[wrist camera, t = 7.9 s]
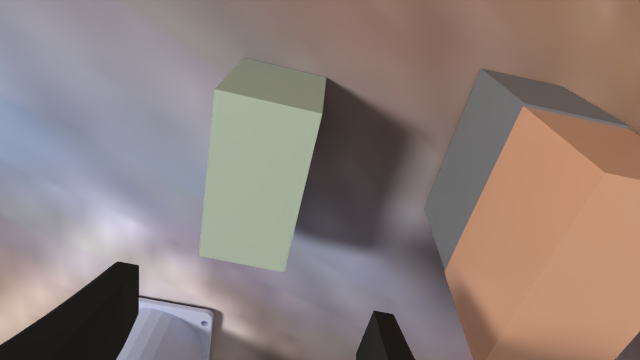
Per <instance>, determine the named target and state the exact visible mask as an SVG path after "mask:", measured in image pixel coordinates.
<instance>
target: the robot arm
mask: <svg viewBox="0 0 640 360" xmlns="http://www.w3.org/2000/svg"><path fill="white" fill-rule="evenodd" d="M213 320H214V314H213V313H212V312H211V311H210V310H207V309H201V308H196V307H190V306H185V305H179V304H173V303H168V302H162V301H156V300H151V299H145V298H139V265H133V264H128V263H123V262H116V263H115V264H113V265H112V266H111V267H109V268H108V269H107V270H106V271H104V272H103V273H102V274H100V275H99V276H98V277H97V278H95V279H94V280H93V281H91V282H90V283H89V284H88V285H86V286H85V287H84V288H82V289H81V290H80V291H78V292H77V293H76V294H74V295H73V296H72V297H70V298H69V299H67V300H66V301H65V302H63V303H62V304H61V305H59V306H58V307H56V308H55V309H54V310H52V311H51V312H50V313H48V314H47V315H45V316H44V317H42V318H41V319H39V320H38V321H36V322H35V323H33V324H32V325H30V326H29V327H27V328H26V329H24V330H23V331H21V332H20V333H18V334H17V335H15V336H14V337H12V338H11V339H9V340H7V341H6V342H4V343H3V344H1V345H0V360H209V357H210V348H211V338H212V329H213ZM205 321H206V322H205ZM356 360H415V359H414V357H413V355H412V352H411V350H410V348H409V346H408V344H407V342H406V340H405V338H404V336H403V334H402V332H401V330H400V327H399V325H398V323H397V321H396V319H395V317H394V315H393V314H389V313H384V312H378V311H373V314H372V316H371V319H370V321H369V324H368V326H367V329H366V331H365V333H364V336H363V338H362V341H361V343H360V346H359V348H358V351H357V353H356Z"/></svg>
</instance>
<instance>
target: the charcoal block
mask: <svg viewBox="0 0 640 360" xmlns="http://www.w3.org/2000/svg"><path fill="white" fill-rule="evenodd" d="M523 106H526V107H530V108H535V109H540V110H544V111H549V112H553V113H558V114H563V115H567V116H572V117H577V118H581V119H586V120H590V121H595V122H600V123H604V124H609V125H613V126H618V127H623V128H627V129H628V128H629V127H630V126H628V125H627V124H625V123H623V122H621V121H620V120H618V119H616V118H615V117H613V116H611V115H610V114H608V113H606V112H604V111H603V110H601V109H599V108H598V107H596V106H594V105H593V104H591V103H589V102H587V101H586V100H584V99H582V98H581V97H579V96H577V95H576V94H574V93H572V92H570V91H569V90H567V89H565V88H564V87H562V86H557V85H553V84H548V83H544V82H539V81H535V80H530V79H526V78H521V77H517V76H512V75H508V74H503V73H499V72H494V71H490V70H486V69H481V70H480V72H479V74H478V77H477V79H476V82H475V84H474V87H473V89H472V92H471V94H470V97H469V99H468V102H467V104H466V107H465V109H464V112H463V114H462V117H461V119H460V122H459V124H458V127H457V129H456V132H455V134H454V137H453V139H452V141H451V144H450V146H449V149H448V151H447V154H446V156H445V159H444V161H443V164H442V166H441V169H440V171H439V174H438V176H437V179H436V181H435V184H434V186H433V189H432V191H431V194H430V196H429V199H428V201H427V204H426V206H425V208H424V210H425V213H426V216H427V219H428V222H429V225H430V228H431V231H432V234H433V237H434V240H435V243H436V246H437V249H438V252H439V255H440V258H441V261H442V264H443V267H444V270H445V269H446V267H447V265H448V263H449V261H450V259H451V257H452V255H453V252H454V250H455V248H456V246H457V244H458V242H459V240H460V238H461V236H462V234H463V231H464V229H465V227H466V225H467V223H468V221H469V219H470V217H471V215H472V212H473V210H474V208H475V206H476V204H477V202H478V200H479V198H480V196H481V194H482V191H483V189H484V187H485V185H486V183H487V181H488V179H489V177H490V175H491V173H492V170H493V168H494V166H495V164H496V162H497V160H498V158H499V156H500V154H501V151H502V149H503V147H504V145H505V143H506V141H507V139H508V137H509V135H510V133H511V130H512V128H513V126H514V124H515V122H516V120H517V118H518V116H519V114H520V112H521V109H522V107H523Z"/></svg>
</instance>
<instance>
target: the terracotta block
mask: <svg viewBox="0 0 640 360" xmlns="http://www.w3.org/2000/svg"><path fill="white" fill-rule="evenodd" d="M444 273H445V276H446V279H447V282H448V285H449V288H450V291H451V294H452V297H453V300H454V303H455V306H456V309H457V312H458V315H459V318H460V321H461V324H462V327H463V330H464V333H465V336H466V339H467V342H468V345H469V348H470V351H471V354H472V357H473V360H615V359H616V358H617V356H618V355H619V354H620V353H621V352H622V351H623V350H624V349H625V347H626V346H627V345H628V344H629V343H630V342H631V341H632V339H633V338H634V337H635V336H636V335H637V334H638V333H639V332H640V136H639V135H638V134H636V133H634V132H633V131H631V130H629V129H627V128H623V127H618V126H613V125H609V124H604V123H600V122H595V121H590V120H586V119H581V118H577V117H572V116H567V115H563V114H558V113H553V112H549V111H544V110H540V109H535V108H530V107H526V106H523V107H522V109H521V112H520V114H519V116H518V118H517V120H516V122H515V124H514V126H513V128H512V130H511V133H510V135H509V137H508V139H507V141H506V143H505V145H504V147H503V149H502V151H501V154H500V156H499V158H498V160H497V162H496V164H495V166H494V168H493V170H492V173H491V175H490V177H489V179H488V181H487V183H486V185H485V187H484V189H483V191H482V194H481V196H480V198H479V200H478V202H477V204H476V206H475V208H474V210H473V212H472V215H471V217H470V219H469V221H468V223H467V225H466V227H465V229H464V231H463V234H462V236H461V238H460V240H459V242H458V244H457V246H456V248H455V250H454V252H453V255H452V257H451V259H450V261H449V263H448V265H447V267H446V269H445V271H444Z"/></svg>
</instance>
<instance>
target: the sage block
mask: <svg viewBox="0 0 640 360" xmlns="http://www.w3.org/2000/svg"><path fill="white" fill-rule="evenodd" d="M325 86H326V77H322V76H317V75H313V74H309V73H305V72H301V71H296V70H292V69H288V68H284V67H279V66H275V65H271V64H267V63H263V62H258V61H254V60H250V59H246V58H243V59H242V60H241V62H240V63H239V64H238V65H237V66H236V67H235V68H234V69H233V70H232V71H231V72H230V73H229V74H228V75H227V76H226V77H225V79H224V80H223V81H222V82H221V83H220V84H219V85H218V86H217V87H216V88H215V91H214V101H213V112H212V122H211V133H210V143H209V154H208V164H207V175H206V185H205V196H204V206H203V217H202V227H201V238H200V249H199V256H204V257H209V258H214V259H219V260H223V261H228V262H233V263H238V264H243V265H248V266H253V267H258V268H263V269H268V270H273V271H278V272H283V273H284V272H285V267H286V263H287V259H288V255H289V251H290V247H291V242H292V238H293V234H294V230H295V226H296V221H297V217H298V213H299V209H300V205H301V201H302V196H303V192H304V188H305V184H306V180H307V176H308V171H309V167H310V163H311V159H312V155H313V151H314V146H315V142H316V138H317V134H318V130H319V125H320V121H321V117H322V112H323V103H324V95H325Z"/></svg>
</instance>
